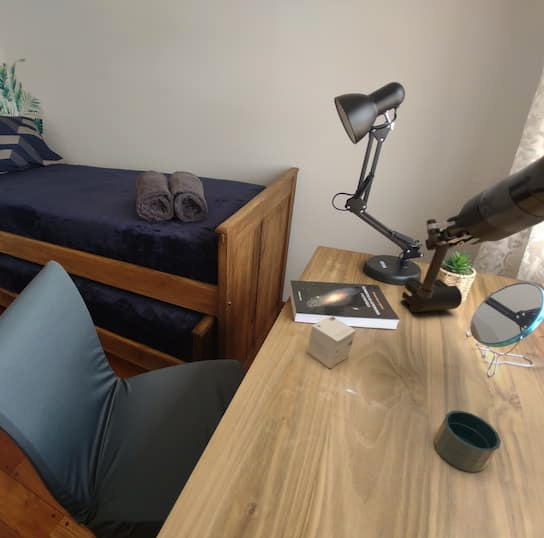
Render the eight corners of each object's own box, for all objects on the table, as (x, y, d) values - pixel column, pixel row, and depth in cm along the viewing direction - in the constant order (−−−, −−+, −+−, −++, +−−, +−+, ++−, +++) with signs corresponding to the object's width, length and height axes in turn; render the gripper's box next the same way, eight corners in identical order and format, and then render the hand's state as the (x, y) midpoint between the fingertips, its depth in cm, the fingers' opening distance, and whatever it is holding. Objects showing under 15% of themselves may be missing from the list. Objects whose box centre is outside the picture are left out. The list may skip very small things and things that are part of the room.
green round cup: (464, 432, 59) (477, 410, 56) (496, 472, 53) (512, 450, 51) (423, 433, 59) (435, 411, 56) (451, 473, 53) (465, 451, 50)
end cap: (416, 319, 85) (425, 295, 81) (398, 302, 91) (405, 279, 87) (455, 316, 86) (466, 292, 82) (434, 299, 92) (444, 276, 88)
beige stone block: (329, 369, 72) (337, 341, 68) (305, 352, 76) (311, 324, 72) (348, 357, 74) (356, 329, 71) (324, 341, 79) (330, 314, 75)
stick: (426, 291, 72) (451, 227, 65) (433, 298, 70) (460, 232, 63) (414, 291, 72) (438, 227, 65) (421, 298, 70) (446, 233, 63)
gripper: (555, 183, 51) (469, 227, 68) (454, 182, 52) (395, 226, 69) (567, 232, 49) (476, 265, 66) (462, 230, 51) (399, 263, 67)
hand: (435, 245), depth 68 cm, fingers closed on stick, 2 cm apart
